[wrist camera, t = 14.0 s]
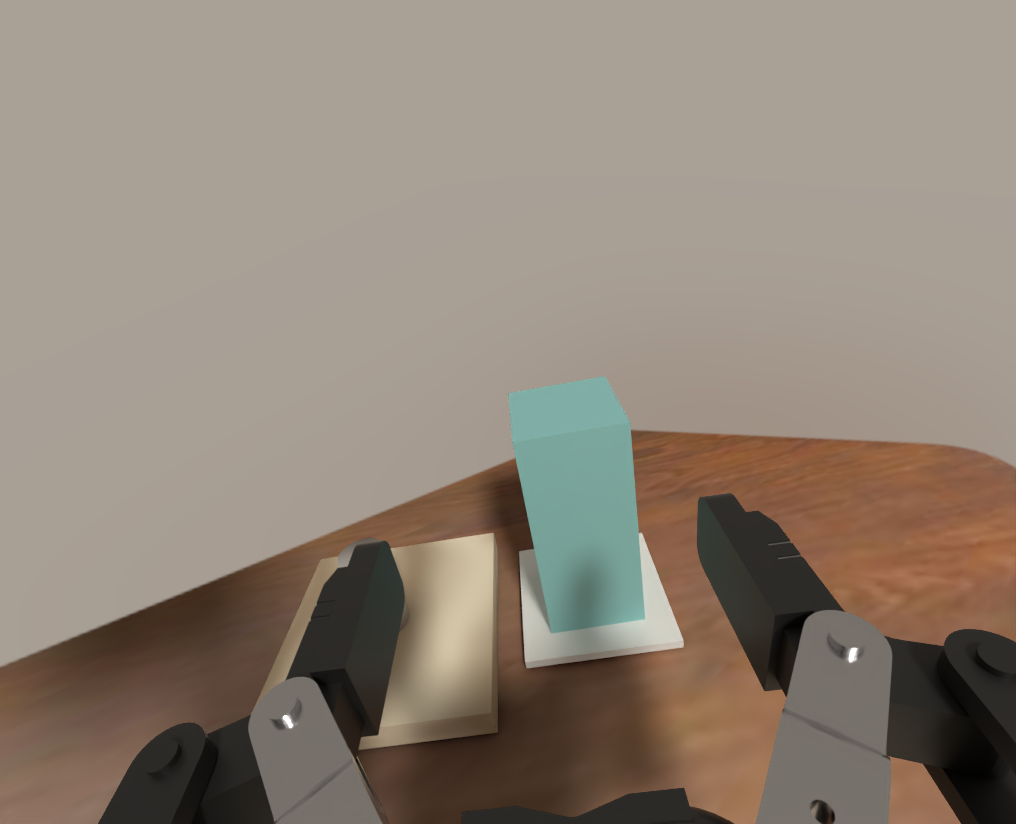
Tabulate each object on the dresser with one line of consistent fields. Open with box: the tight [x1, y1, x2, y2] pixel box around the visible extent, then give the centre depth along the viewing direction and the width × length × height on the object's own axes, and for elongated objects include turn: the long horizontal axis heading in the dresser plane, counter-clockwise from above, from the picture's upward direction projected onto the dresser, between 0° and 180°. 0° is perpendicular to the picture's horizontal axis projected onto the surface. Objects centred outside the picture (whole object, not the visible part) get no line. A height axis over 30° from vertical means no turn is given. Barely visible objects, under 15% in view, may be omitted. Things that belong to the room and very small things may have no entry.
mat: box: [519, 533, 684, 668], centre depth 28 cm, size 8×8×1 cm
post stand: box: [251, 533, 498, 750], centre depth 27 cm, size 12×12×6 cm
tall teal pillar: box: [508, 376, 645, 633], centre depth 26 cm, size 5×5×12 cm
